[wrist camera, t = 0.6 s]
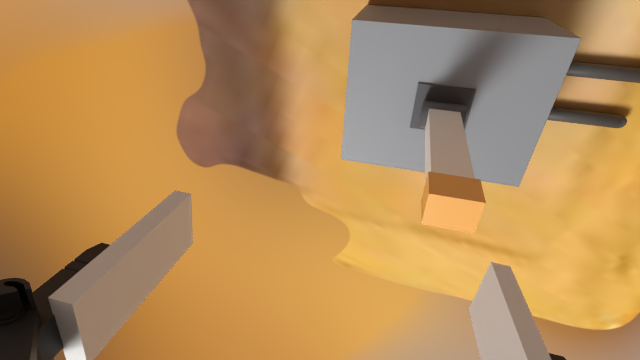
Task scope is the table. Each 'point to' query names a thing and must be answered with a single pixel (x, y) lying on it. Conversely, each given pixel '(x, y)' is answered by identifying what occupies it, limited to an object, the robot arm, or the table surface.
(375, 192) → the table surface
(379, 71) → the grey power plug
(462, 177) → the breaker lever
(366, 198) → the table surface
